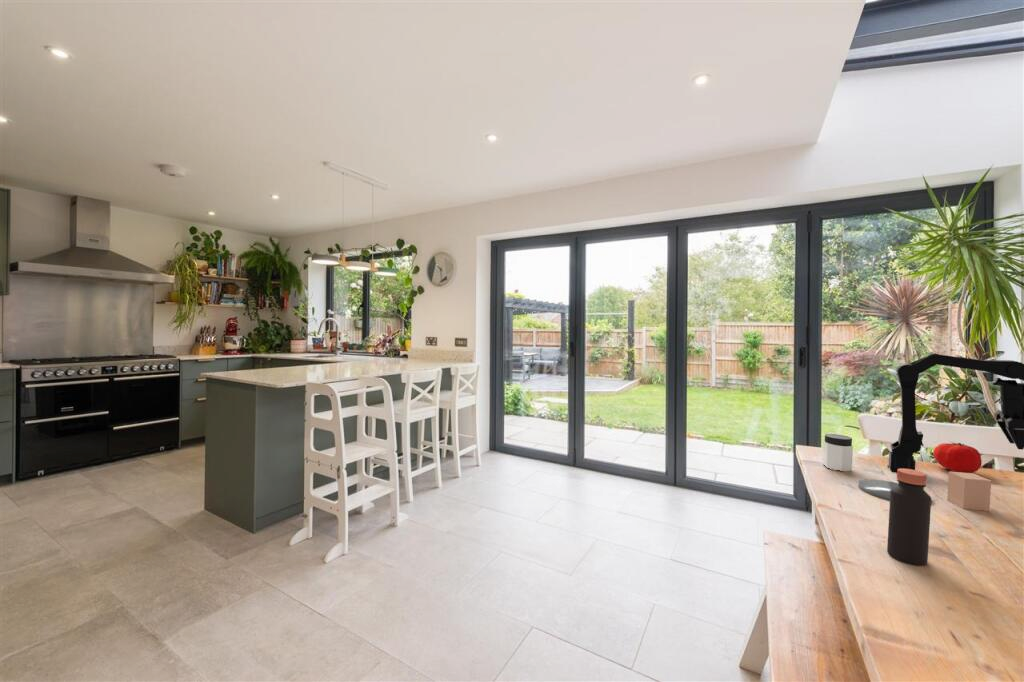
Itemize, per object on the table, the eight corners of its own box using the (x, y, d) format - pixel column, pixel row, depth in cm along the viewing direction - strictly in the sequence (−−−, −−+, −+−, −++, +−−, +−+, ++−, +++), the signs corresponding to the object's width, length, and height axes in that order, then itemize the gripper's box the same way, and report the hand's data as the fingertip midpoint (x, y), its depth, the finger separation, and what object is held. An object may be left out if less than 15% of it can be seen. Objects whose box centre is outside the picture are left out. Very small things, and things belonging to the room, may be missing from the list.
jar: (854, 469, 157) (856, 437, 157) (848, 473, 152) (850, 440, 152) (825, 462, 164) (827, 432, 164) (819, 466, 159) (820, 435, 158)
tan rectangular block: (947, 500, 130) (948, 471, 129) (971, 502, 128) (973, 473, 128) (963, 508, 124) (964, 478, 123) (989, 511, 122) (991, 480, 122)
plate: (863, 495, 132) (863, 492, 132) (853, 479, 146) (854, 475, 146) (938, 509, 123) (938, 505, 123) (920, 489, 138) (920, 486, 138)
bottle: (914, 568, 92) (919, 478, 91) (879, 552, 99) (884, 468, 98) (935, 563, 94) (940, 475, 93) (899, 548, 101) (904, 465, 100)
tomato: (987, 479, 148) (989, 450, 148) (939, 472, 155) (940, 444, 154) (972, 469, 160) (973, 441, 159) (927, 462, 166) (929, 436, 166)
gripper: (1063, 404, 126) (1066, 456, 126) (1042, 396, 141) (1045, 443, 140) (1007, 402, 133) (1010, 451, 133) (992, 395, 148) (995, 439, 147)
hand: (1016, 446), depth 138 cm, fingers open, 9 cm apart
